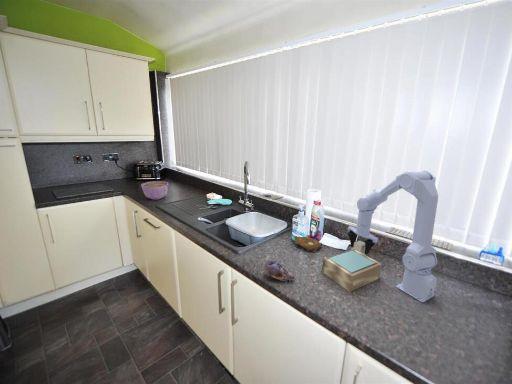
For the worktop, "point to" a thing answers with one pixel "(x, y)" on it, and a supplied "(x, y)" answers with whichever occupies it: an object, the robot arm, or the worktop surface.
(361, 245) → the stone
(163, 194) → the bowl of food
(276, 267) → the purple lumpy piece
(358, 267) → the trapdoor
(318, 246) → the decorative rock
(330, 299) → the worktop surface
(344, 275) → the trapdoor frame
